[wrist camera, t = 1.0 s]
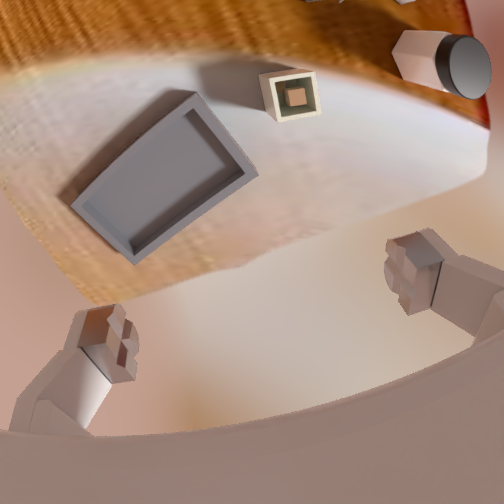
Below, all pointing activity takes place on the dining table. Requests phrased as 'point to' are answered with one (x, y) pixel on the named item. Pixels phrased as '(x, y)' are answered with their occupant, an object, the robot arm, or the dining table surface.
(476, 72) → the jar
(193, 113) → the tray
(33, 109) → the dining table surface
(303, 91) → the cup
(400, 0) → the flask
